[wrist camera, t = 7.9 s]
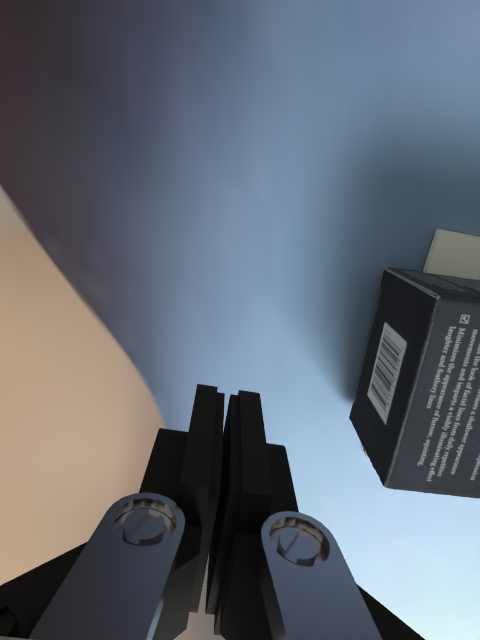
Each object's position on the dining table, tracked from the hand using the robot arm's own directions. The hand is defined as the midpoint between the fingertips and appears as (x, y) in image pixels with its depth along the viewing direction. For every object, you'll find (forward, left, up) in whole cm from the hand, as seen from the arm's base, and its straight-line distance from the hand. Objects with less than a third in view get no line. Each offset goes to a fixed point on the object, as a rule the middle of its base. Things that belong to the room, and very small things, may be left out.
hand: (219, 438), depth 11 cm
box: (0, +6, -6) cm, 9 cm away
